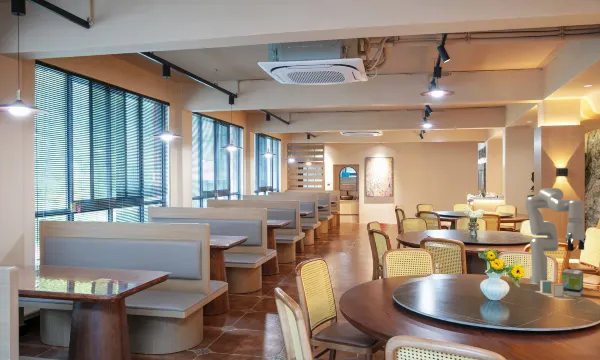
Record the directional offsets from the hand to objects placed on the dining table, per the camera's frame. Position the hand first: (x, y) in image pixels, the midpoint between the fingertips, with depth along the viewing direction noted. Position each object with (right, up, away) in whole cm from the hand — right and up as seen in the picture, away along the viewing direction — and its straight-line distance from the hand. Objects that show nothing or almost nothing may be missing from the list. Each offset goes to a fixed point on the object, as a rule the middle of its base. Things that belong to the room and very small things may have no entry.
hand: (575, 249), depth 270 cm
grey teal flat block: (-13, -27, +9) cm, 32 cm away
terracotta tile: (-12, -27, -2) cm, 30 cm away
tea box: (+2, -29, +7) cm, 30 cm away
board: (-12, -28, +1) cm, 31 cm away
